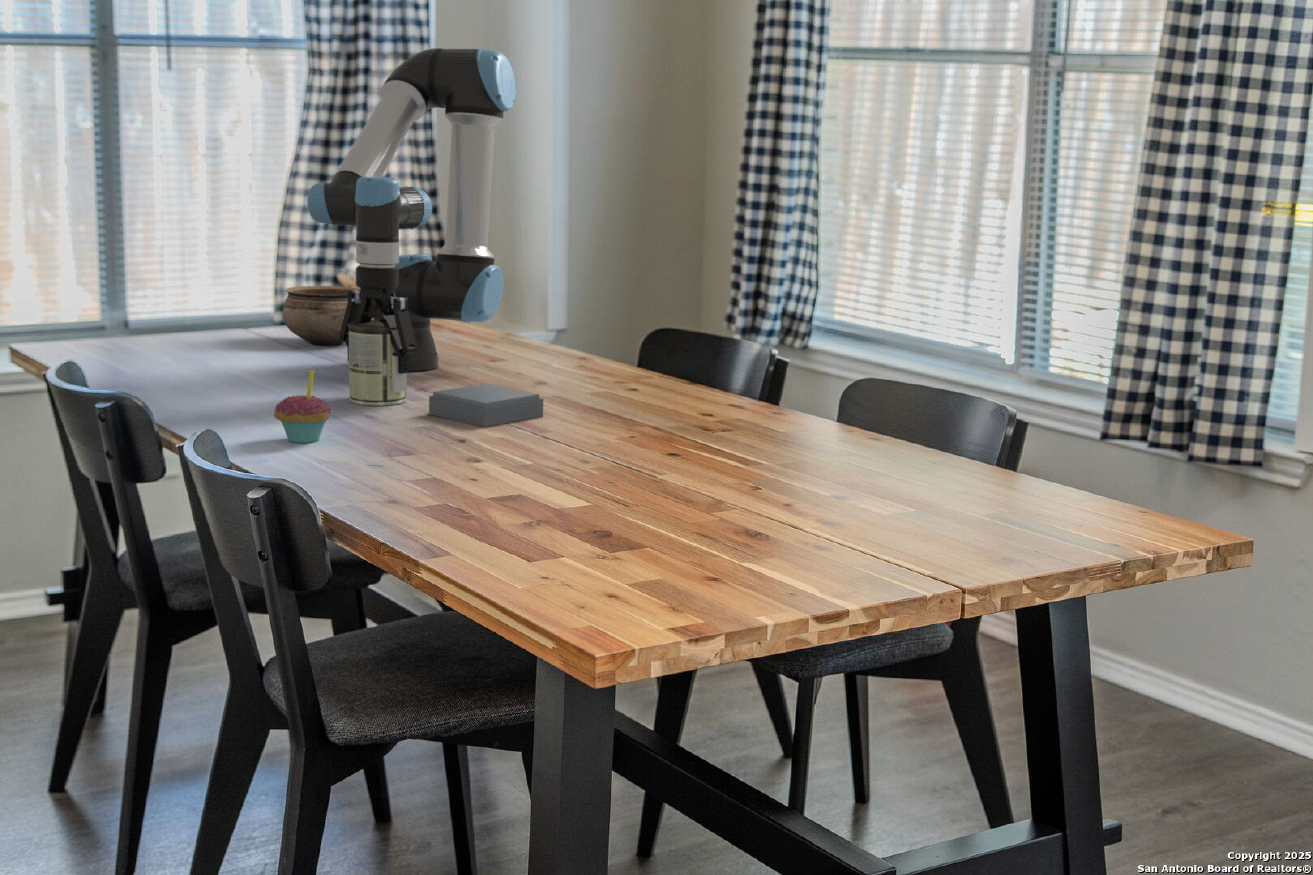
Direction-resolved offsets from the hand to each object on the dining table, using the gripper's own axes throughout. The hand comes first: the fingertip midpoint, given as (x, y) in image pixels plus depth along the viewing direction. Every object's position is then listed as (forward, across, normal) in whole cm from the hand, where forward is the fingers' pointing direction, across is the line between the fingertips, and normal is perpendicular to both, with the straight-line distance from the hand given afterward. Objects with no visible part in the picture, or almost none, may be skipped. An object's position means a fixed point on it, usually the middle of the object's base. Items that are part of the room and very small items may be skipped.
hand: (377, 386), depth 247 cm
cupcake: (+3, +18, -30) cm, 35 cm away
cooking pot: (+3, -59, +34) cm, 68 cm away
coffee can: (+3, 0, 0) cm, 3 cm away
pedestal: (+3, +22, +6) cm, 23 cm away
